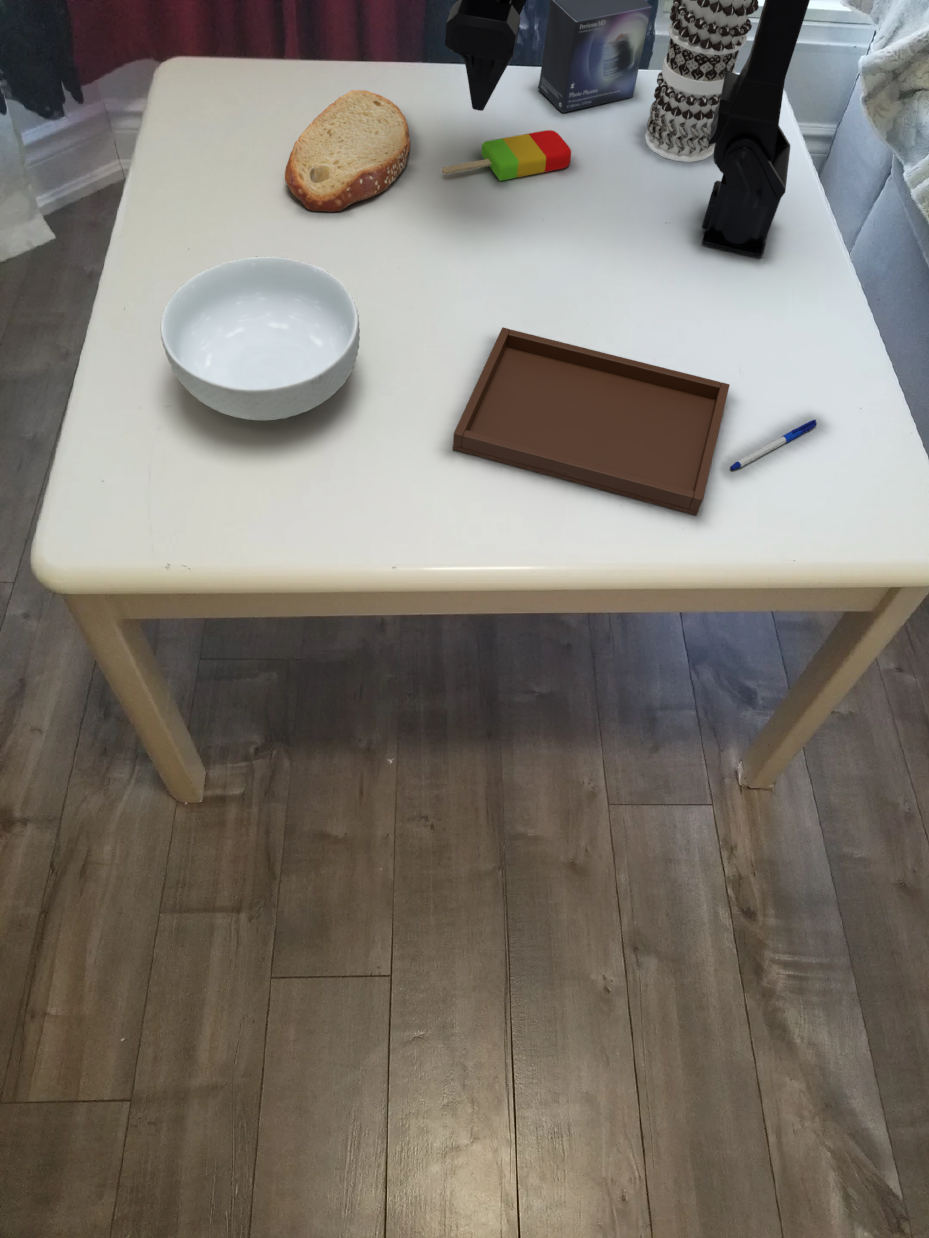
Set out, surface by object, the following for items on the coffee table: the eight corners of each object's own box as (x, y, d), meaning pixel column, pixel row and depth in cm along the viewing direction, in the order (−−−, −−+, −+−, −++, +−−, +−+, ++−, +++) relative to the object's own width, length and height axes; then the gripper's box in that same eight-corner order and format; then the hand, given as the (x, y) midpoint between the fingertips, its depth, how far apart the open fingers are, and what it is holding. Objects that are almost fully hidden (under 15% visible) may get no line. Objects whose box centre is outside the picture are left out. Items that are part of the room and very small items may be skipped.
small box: (562, 116, 110) (575, 21, 101) (536, 90, 113) (546, -5, 104) (636, 98, 113) (654, 4, 104) (607, 73, 116) (623, -20, 107)
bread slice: (379, 100, 110) (378, 68, 107) (456, 177, 102) (457, 145, 99) (240, 137, 104) (235, 104, 101) (310, 222, 96) (306, 189, 93)
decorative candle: (685, 113, 112) (748, -141, 91) (735, 151, 108) (813, -105, 87) (626, 132, 109) (676, -126, 88) (674, 171, 105) (740, -89, 84)
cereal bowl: (159, 341, 85) (140, 276, 79) (330, 304, 89) (324, 239, 83) (201, 469, 77) (183, 407, 71) (388, 422, 81) (386, 360, 75)
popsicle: (573, 168, 104) (576, 152, 102) (451, 192, 100) (451, 176, 99) (553, 142, 107) (555, 127, 105) (433, 165, 103) (433, 149, 102)
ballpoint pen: (809, 422, 84) (813, 414, 83) (816, 427, 83) (820, 419, 82) (728, 469, 80) (731, 461, 79) (735, 475, 80) (738, 467, 79)
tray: (723, 400, 84) (729, 384, 83) (696, 515, 77) (702, 500, 75) (500, 344, 87) (502, 327, 86) (452, 449, 80) (453, 433, 78)
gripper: (432, -155, 84) (423, 28, 97) (390, -70, 74) (387, 120, 87) (551, -134, 84) (526, 46, 97) (525, -46, 74) (501, 141, 87)
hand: (484, 85), depth 92 cm, fingers open, 9 cm apart
